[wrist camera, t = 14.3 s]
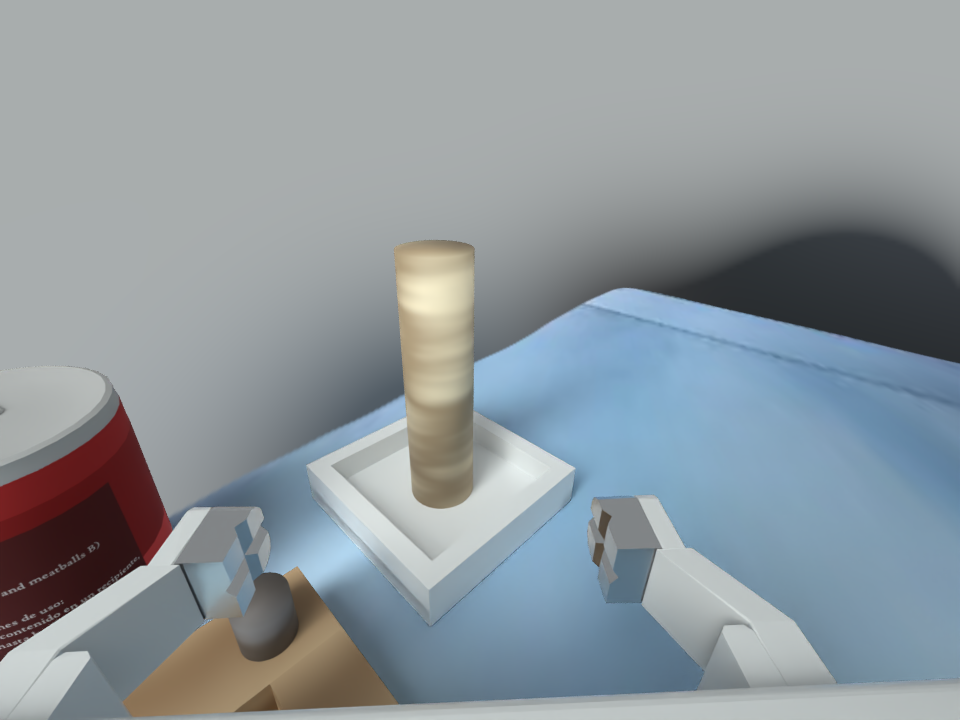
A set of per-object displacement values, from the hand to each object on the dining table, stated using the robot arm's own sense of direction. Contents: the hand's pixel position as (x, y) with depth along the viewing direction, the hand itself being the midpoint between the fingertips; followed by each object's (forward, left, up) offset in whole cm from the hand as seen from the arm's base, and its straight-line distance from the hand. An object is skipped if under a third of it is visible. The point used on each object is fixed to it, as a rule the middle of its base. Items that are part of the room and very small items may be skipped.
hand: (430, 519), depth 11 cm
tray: (+9, -8, -11) cm, 16 cm away
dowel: (+9, -8, -10) cm, 16 cm away
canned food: (+14, +8, -11) cm, 20 cm away
